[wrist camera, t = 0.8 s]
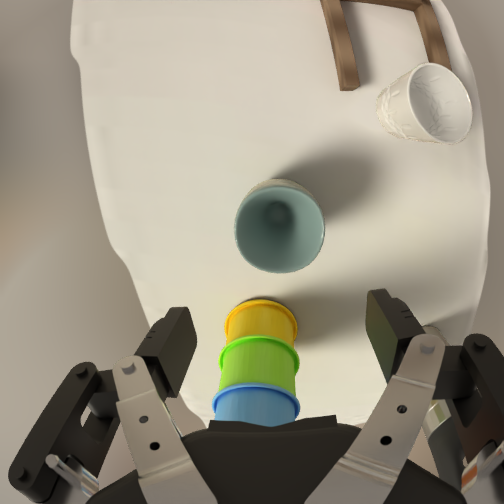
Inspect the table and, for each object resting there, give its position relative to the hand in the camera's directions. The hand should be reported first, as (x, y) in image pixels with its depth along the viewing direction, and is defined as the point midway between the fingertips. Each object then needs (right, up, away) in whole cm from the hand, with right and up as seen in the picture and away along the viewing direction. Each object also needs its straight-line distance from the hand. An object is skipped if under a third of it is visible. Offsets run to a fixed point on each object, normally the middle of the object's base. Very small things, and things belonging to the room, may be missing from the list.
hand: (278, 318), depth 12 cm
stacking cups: (0, -8, +27) cm, 28 cm away
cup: (+2, +8, +21) cm, 22 cm away
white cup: (+17, +20, +15) cm, 30 cm away
